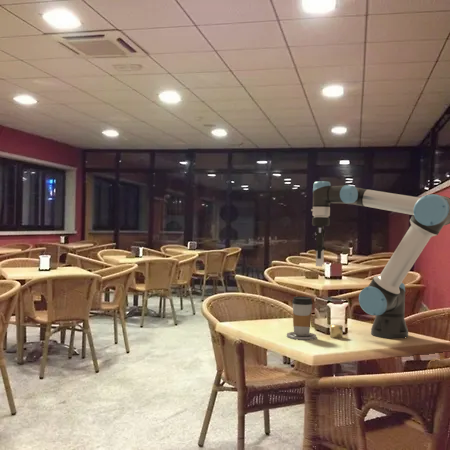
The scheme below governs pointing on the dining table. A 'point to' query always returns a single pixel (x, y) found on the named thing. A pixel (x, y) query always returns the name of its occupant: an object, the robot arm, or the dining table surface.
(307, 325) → the coffee cup
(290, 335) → the flange plate
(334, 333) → the brass coupling
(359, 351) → the dining table surface
